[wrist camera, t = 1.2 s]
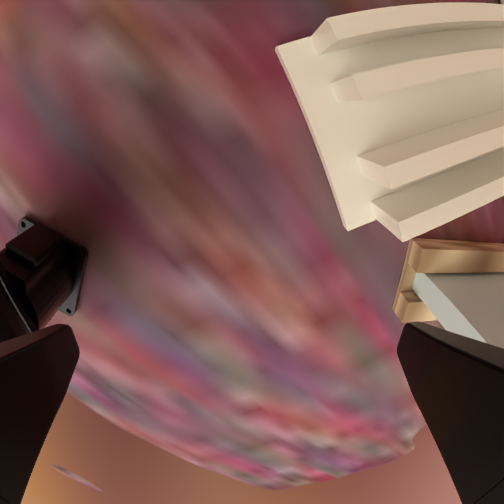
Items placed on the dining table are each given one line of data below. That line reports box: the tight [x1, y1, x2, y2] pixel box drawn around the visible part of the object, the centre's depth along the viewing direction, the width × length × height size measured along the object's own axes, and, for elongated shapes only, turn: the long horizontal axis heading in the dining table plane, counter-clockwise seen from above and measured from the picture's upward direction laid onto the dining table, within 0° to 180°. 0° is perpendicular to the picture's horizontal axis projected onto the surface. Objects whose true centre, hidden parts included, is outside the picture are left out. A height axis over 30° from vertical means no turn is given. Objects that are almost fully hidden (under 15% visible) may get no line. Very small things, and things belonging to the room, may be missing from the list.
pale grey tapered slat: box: [412, 272, 504, 349], centre depth 17 cm, size 10×2×10 cm, turn 88°
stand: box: [392, 238, 504, 323], centre depth 21 cm, size 12×6×2 cm, turn 88°
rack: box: [275, 2, 504, 242], centre depth 14 cm, size 20×12×5 cm, turn 113°
